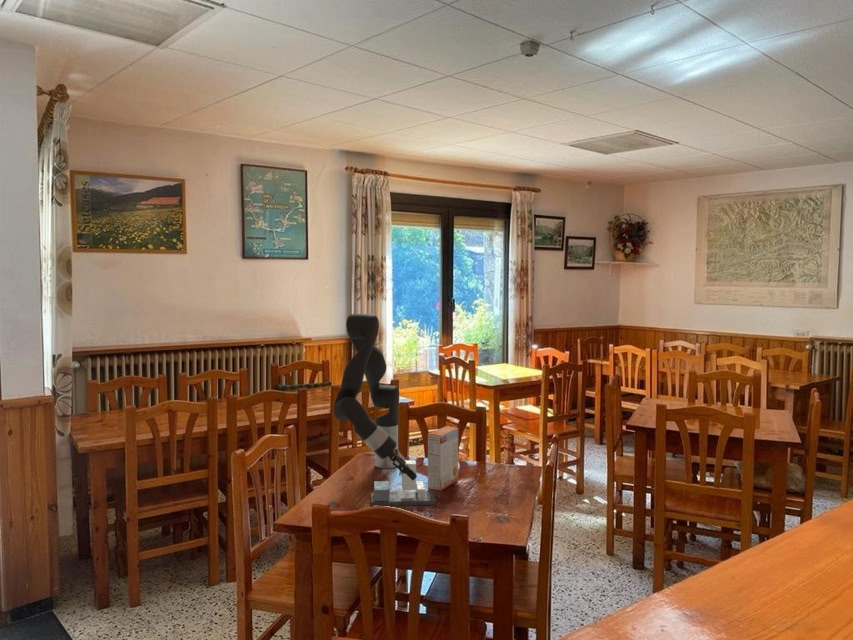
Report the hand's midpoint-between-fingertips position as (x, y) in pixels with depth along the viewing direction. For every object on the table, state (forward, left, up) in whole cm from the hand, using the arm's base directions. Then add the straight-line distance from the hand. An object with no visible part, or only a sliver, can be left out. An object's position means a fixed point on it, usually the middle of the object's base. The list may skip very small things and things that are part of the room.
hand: (414, 475), depth 219 cm
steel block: (0, -2, -4) cm, 5 cm away
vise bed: (0, -4, -9) cm, 10 cm away
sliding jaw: (0, -11, -7) cm, 13 cm away
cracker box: (-16, +12, -9) cm, 22 cm away
